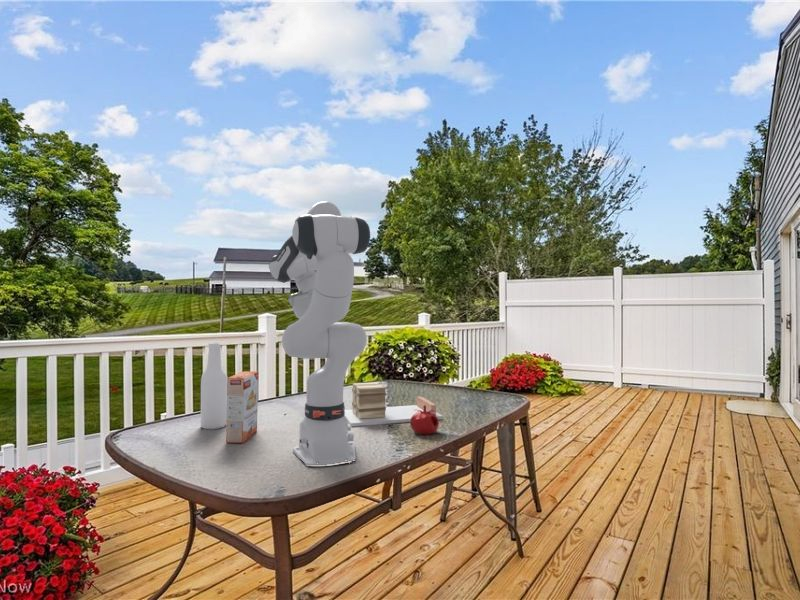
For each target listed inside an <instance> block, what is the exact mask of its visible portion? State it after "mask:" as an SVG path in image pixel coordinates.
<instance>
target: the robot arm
mask: <svg viewBox="0 0 800 600" xmlns="http://www.w3.org/2000/svg"><path fill="white" fill-rule="evenodd" d="M291 231H292V233H291V235H290V237H288V238H287V240H286V241H285V242H284V243H283V244H282V246H281V248H280V249H279V251H278V252H277V254H276V255H273V256H272V257H270V260H269V263H268V269H269V272H270V275H271V276H272V278H273V279H274V280H276V281H278V282H280V283H283V284H285V283H288V282H289V281H291V280H294V281H295V285H296V287H297V290H298V292H296V293H292V294H290V295H289V297H288V298H287V299H288V300H287V301H288V303H289V305H290V306H291V308H292V310H293V313H294V316H295V317H296V318H298V320H296V321H295V322H293V323H291V324H289V325H288V326H287V327H286V328H285V329H284V331H283V334H282V337H281V345H282V348H283V350H284V352H285V354H286V355H288V356H289V357H290V358H297V359H303V360H305V359H306V360H307V359H326V360H325V363H324V365H322V367H320V368H318V369H316V370H315V371H312V373H311V374H310V375H309V376H307V380H306V403H305V404H304V417H303V420H302V421H301V422H300V423H299V431H298V432H299V433H298V434H299V435H298V445H297V446H294V447H293V448H292V452H293V453H294V455H296V457H297V458H298V459H299V460H300V459H301V460H302V461H303V462H304V463H305V464H306V465H327V464H335V463H341V462H348V461H353V460H355V459H357V458H356V457H357V456H356V446H355V445H356V444H355V442H354V438H355V437H354V432H350V431H351V430H352V429H351V426H350V425H349V423H348V419H347V418H345V417H344V415H345V410H346V408H345V402H344V401H343V400H344V384H345V377H346V374H347V371H348V369H349V367H350V365H351V364H352V362H354V360H355V359H356V358H357V357H358V356H359V355H360V354H362V353H363V352H364V350H365V349H366V346H367V342H368V339H367V338H368V337H367V333H366V330H365V329H364V328H363V326H362V325H361V324H358V323H354V322H348V321H341V320H343V319H344V318H345V317H346V316H347V314H348V313H349V311H350V307H351V301H352V296H353V295H352V294H353V288H354V283H355V282H354V279H355V264H354V263H355V262H354V260H353V257H352V256H351V255H350V254H352V255H358V254H361V253H365V252H366V250H367V249H368V248H369V246H370V243H371V230H370V225H369V224H368V223H367V221H366V220H365V219H363V218H360V217H357V216H345V215H342V214H341V211H340V209H339V207H338V206H337V205H335V204H334V203H332V202H329V201H326V200H324V201H319V202H317V203H315V204H314V205H313V206H312V207H311V208H310V209H309V210H308V212H307V213H306V214H302V215H300V216H298V217H297V218H296V219H295V221H294V224H293V226H292V230H291ZM349 432H350V433H349ZM301 460H300V461H301ZM345 460H347V461H345ZM302 461H301V462H302ZM303 462H302V463H303ZM304 463H303V464H304ZM317 463H318V464H317ZM305 464H304V465H305ZM306 465H305V466H306Z"/></svg>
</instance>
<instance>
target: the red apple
mask: <svg viewBox="0 0 800 600" xmlns="http://www.w3.org/2000/svg"><path fill="white" fill-rule="evenodd" d="M423 407H424V410H423V412H422V411H420V410H418V412H419V411H420V412H419V413H416V414H414V415H413V416H412V417H411V420H410V422H409V424H410V428H411V429H412V431H414V432H415V433H416V434H418V433H420V434H419V435H432V434H431V433H433V434H435V433H436V432H437V430H438V428H439V423H440V421H439V420H440V419H439V420H438V418H437V417H436V415H435V414H433V412H435V411H433V410H431V411H433V412H432V413H431V411H426V405H424V406H423Z"/></svg>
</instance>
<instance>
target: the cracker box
mask: <svg viewBox="0 0 800 600" xmlns="http://www.w3.org/2000/svg"><path fill="white" fill-rule="evenodd" d="M258 402H259V372H258V371H241V372H238V373H236V374H234V375H231V376H229V377H227V419H226V426H225V427H226V429H225V434H226V435H225V443H230V444H244V442H246V441H247V440H248V439H250V437H252V436H253V435H254V434H256V433H257V431H258V408H259V407H258V404H259V403H258Z"/></svg>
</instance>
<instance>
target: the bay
mask: <svg viewBox="0 0 800 600" xmlns="http://www.w3.org/2000/svg"><path fill="white" fill-rule="evenodd" d="M424 405H426V411H431V410H433V411H435V412H433V411H431V413H432V412H433V414H435V415H436V417H437V418H438V420H443V419H444V417H443V415H442V414H440V413H439V412H437V404H435V403H433V402H431V401H430V400H428V399H427V398H425V397H423V396H421V395H420V396H416V404H414V405H412V404H411V405H397V406H396V405H395V406H385V407H386V411H385V417H377V418H363V419H359V418H358V417H357V416H356V414H355V413H354V412H353V408H352V409H345V415H344V417H345V418H347V419H348V425H349V424H350V425H349V426H352V427H360V426H361V427H363V426H373V425H374V426H375V425H386V424H397V423H398V424H399V423H400V424H401V423H410V420H411V417H412V416H413V415H414V414H416V413H419V412H420V411H422V412H423V410H424V407H423V406H424ZM418 410H420V411H419V412H418Z"/></svg>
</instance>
